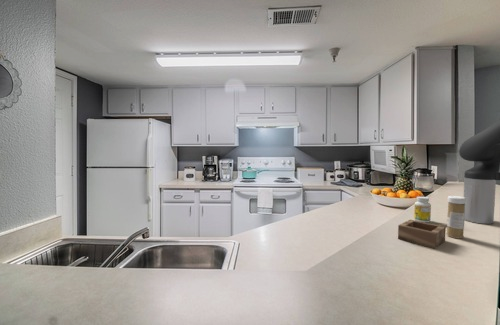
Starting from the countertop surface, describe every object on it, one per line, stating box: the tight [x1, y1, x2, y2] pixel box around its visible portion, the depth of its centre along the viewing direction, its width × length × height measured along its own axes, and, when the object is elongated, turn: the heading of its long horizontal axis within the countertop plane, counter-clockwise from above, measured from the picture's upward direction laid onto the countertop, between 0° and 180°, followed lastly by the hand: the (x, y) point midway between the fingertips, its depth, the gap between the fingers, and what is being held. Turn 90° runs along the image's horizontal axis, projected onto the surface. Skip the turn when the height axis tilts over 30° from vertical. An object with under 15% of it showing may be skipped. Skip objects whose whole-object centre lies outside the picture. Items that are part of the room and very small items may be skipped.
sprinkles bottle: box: [445, 195, 466, 239], centre depth 81 cm, size 5×5×14 cm
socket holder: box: [397, 219, 447, 249], centre depth 79 cm, size 10×10×4 cm
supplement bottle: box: [413, 196, 432, 223], centre depth 99 cm, size 5×5×10 cm
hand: (497, 175), depth 73 cm, fingers open, 8 cm apart
